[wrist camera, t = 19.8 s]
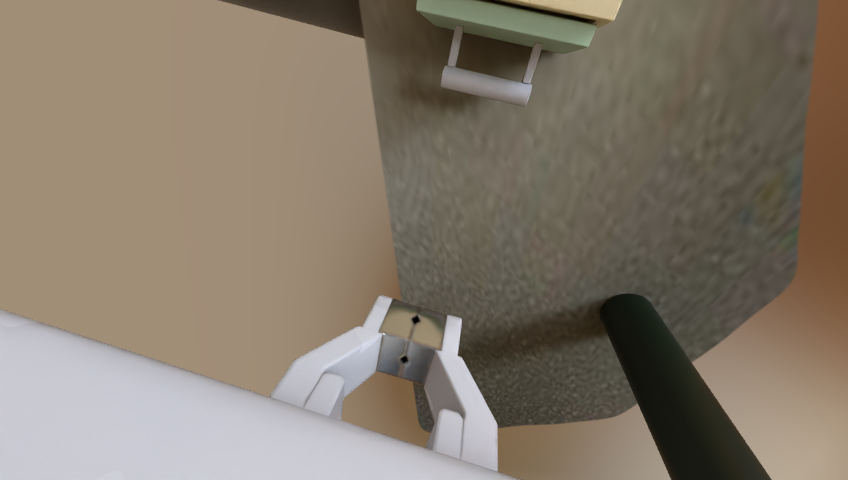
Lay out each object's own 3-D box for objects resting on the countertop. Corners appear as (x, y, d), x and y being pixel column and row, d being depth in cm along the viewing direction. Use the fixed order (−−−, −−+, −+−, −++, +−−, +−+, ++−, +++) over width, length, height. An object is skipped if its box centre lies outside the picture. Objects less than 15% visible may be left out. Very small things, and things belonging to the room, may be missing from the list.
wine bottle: (593, 324, 39) (782, 799, 14) (608, 290, 37) (882, 805, 11) (641, 332, 39) (939, 854, 13) (660, 297, 36) (1092, 877, 10)
